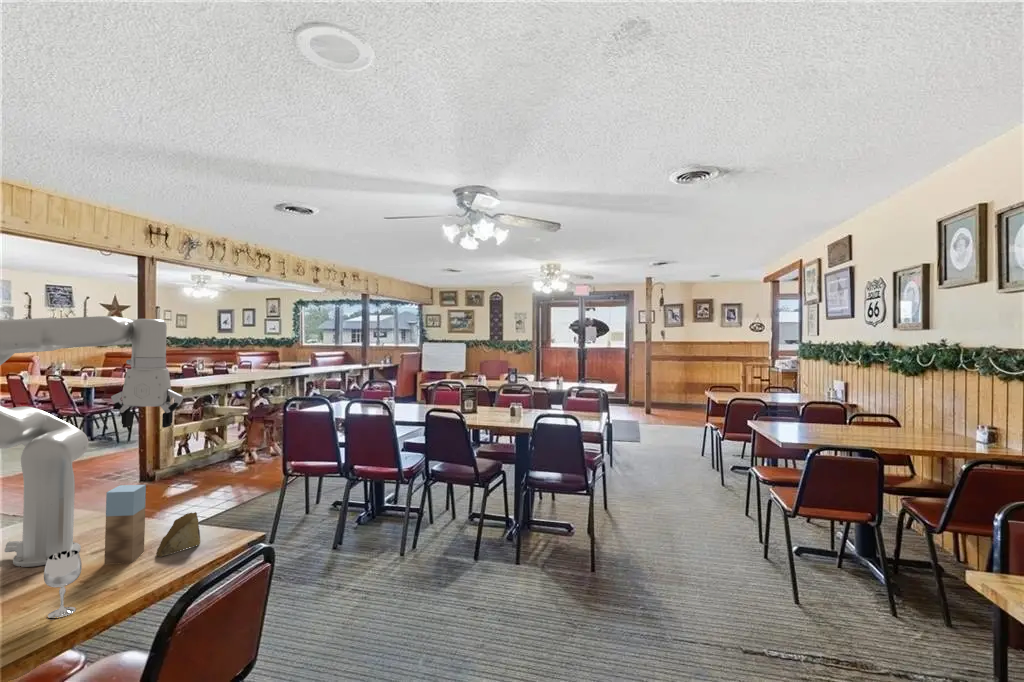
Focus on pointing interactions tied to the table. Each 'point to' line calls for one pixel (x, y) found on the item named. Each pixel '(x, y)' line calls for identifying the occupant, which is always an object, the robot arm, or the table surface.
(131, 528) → the tower mid
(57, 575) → the wineglass
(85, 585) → the table surface
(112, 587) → the table surface
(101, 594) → the table surface
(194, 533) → the rock
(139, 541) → the tower base
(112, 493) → the blue block
